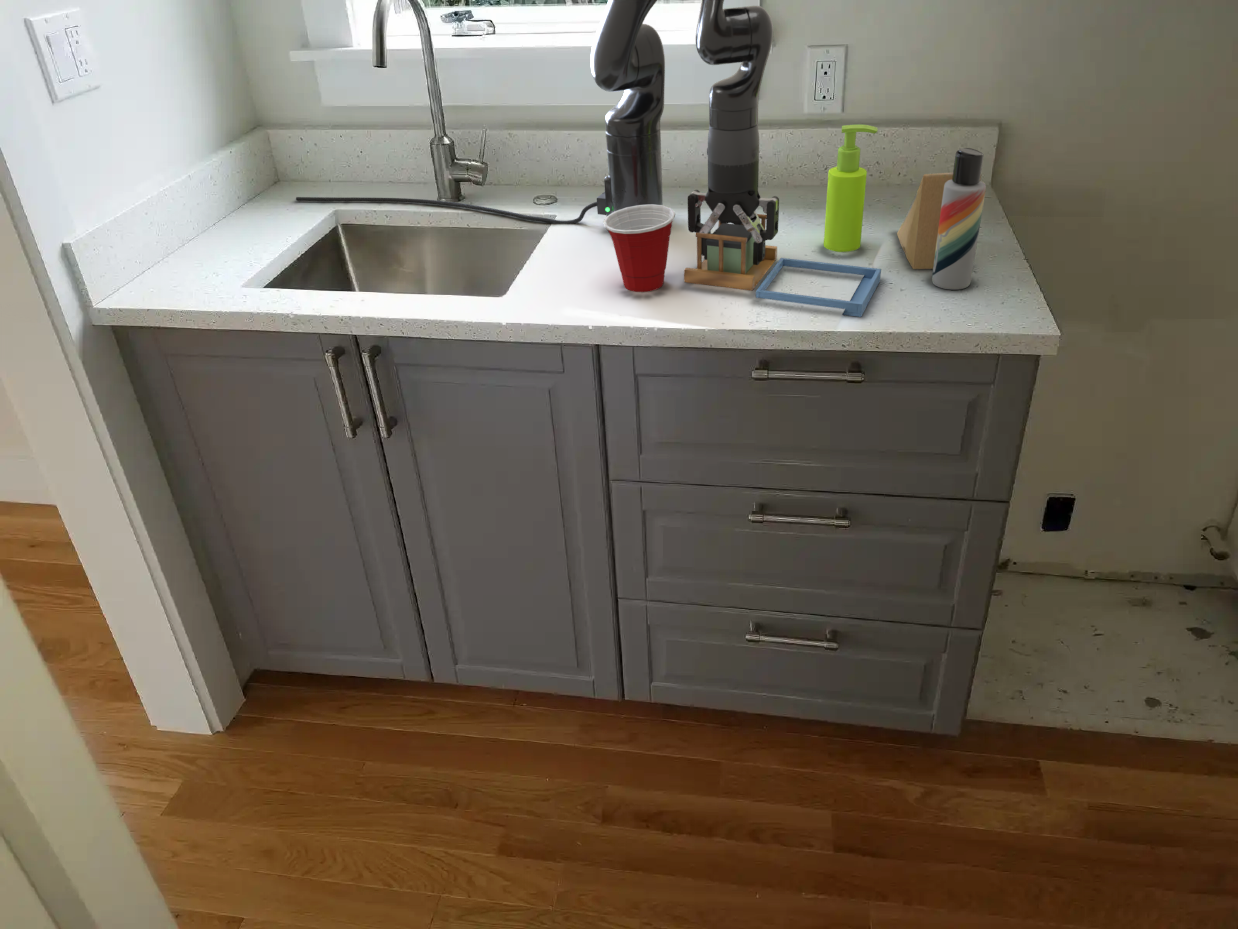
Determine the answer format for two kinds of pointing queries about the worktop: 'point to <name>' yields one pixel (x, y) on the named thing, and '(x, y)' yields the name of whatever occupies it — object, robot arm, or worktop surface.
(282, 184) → the worktop surface
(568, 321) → the worktop surface
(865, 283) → the tray
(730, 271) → the tub
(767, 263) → the dish rack
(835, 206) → the soap dispenser
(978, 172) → the lotion bottle
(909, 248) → the sandwich container
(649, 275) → the plastic cup
